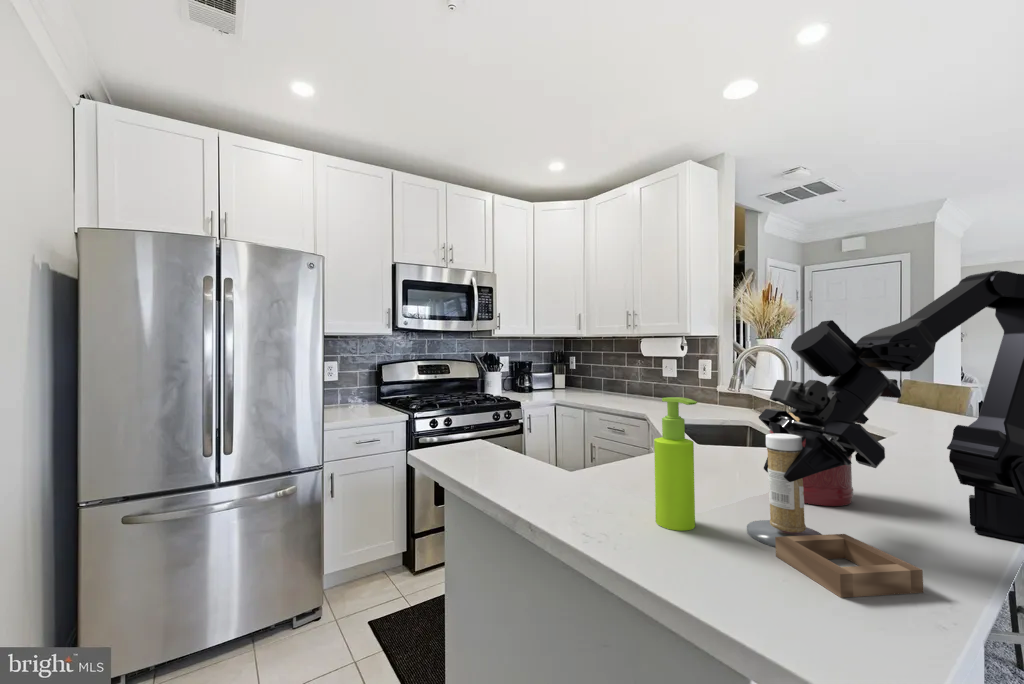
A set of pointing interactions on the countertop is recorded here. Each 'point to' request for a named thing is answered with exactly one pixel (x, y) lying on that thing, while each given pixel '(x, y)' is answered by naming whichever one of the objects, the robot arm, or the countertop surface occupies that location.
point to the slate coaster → (772, 532)
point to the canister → (828, 484)
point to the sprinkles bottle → (784, 483)
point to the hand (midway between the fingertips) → (776, 475)
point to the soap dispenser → (674, 471)
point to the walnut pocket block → (866, 579)
